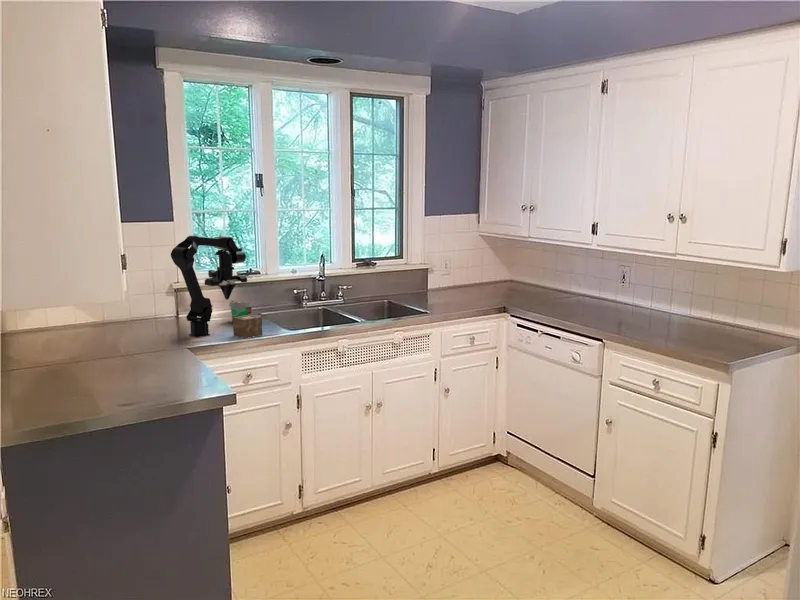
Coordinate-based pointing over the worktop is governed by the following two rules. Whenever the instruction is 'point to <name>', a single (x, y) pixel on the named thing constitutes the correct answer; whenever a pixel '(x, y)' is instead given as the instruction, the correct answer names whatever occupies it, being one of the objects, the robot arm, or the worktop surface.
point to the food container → (240, 308)
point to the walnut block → (247, 326)
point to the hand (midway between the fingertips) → (227, 299)
